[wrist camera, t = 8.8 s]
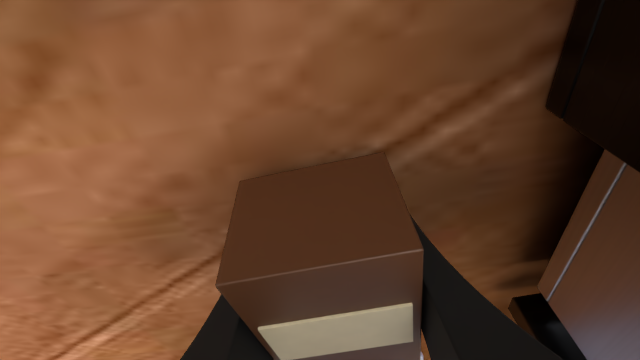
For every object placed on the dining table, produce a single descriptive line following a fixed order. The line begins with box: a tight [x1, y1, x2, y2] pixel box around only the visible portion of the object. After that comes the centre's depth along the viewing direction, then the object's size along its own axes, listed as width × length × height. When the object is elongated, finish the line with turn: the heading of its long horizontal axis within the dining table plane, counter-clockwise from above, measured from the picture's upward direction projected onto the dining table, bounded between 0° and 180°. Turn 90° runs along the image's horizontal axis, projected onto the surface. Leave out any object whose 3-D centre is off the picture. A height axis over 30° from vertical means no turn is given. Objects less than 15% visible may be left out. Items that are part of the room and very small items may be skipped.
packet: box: [215, 152, 424, 360], centre depth 11 cm, size 5×7×4 cm
